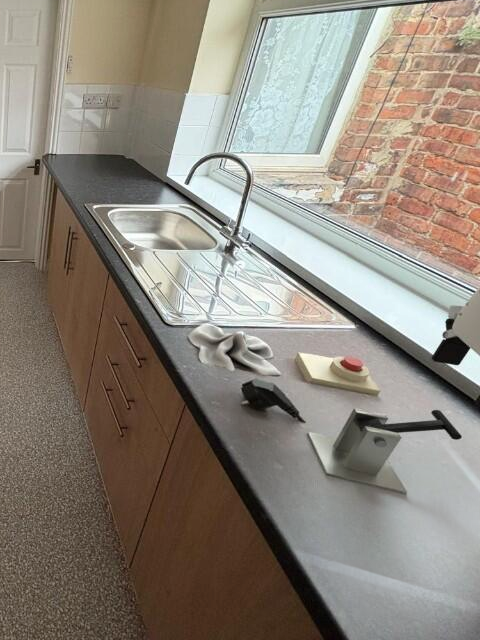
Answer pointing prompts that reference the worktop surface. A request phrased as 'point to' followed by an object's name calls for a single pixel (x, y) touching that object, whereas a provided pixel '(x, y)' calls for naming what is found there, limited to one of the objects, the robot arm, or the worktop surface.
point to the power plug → (267, 397)
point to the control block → (335, 374)
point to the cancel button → (352, 363)
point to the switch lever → (415, 425)
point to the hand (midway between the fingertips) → (465, 383)
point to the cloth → (232, 350)
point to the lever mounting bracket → (360, 452)
